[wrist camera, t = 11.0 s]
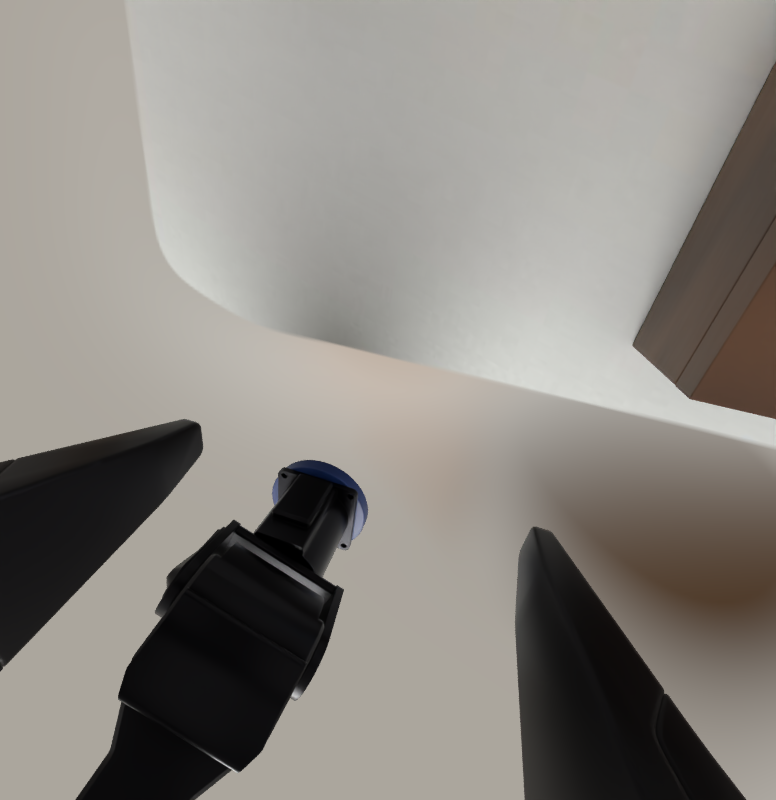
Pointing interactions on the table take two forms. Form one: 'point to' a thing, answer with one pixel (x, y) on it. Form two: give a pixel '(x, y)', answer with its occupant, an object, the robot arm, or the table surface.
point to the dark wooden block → (726, 282)
